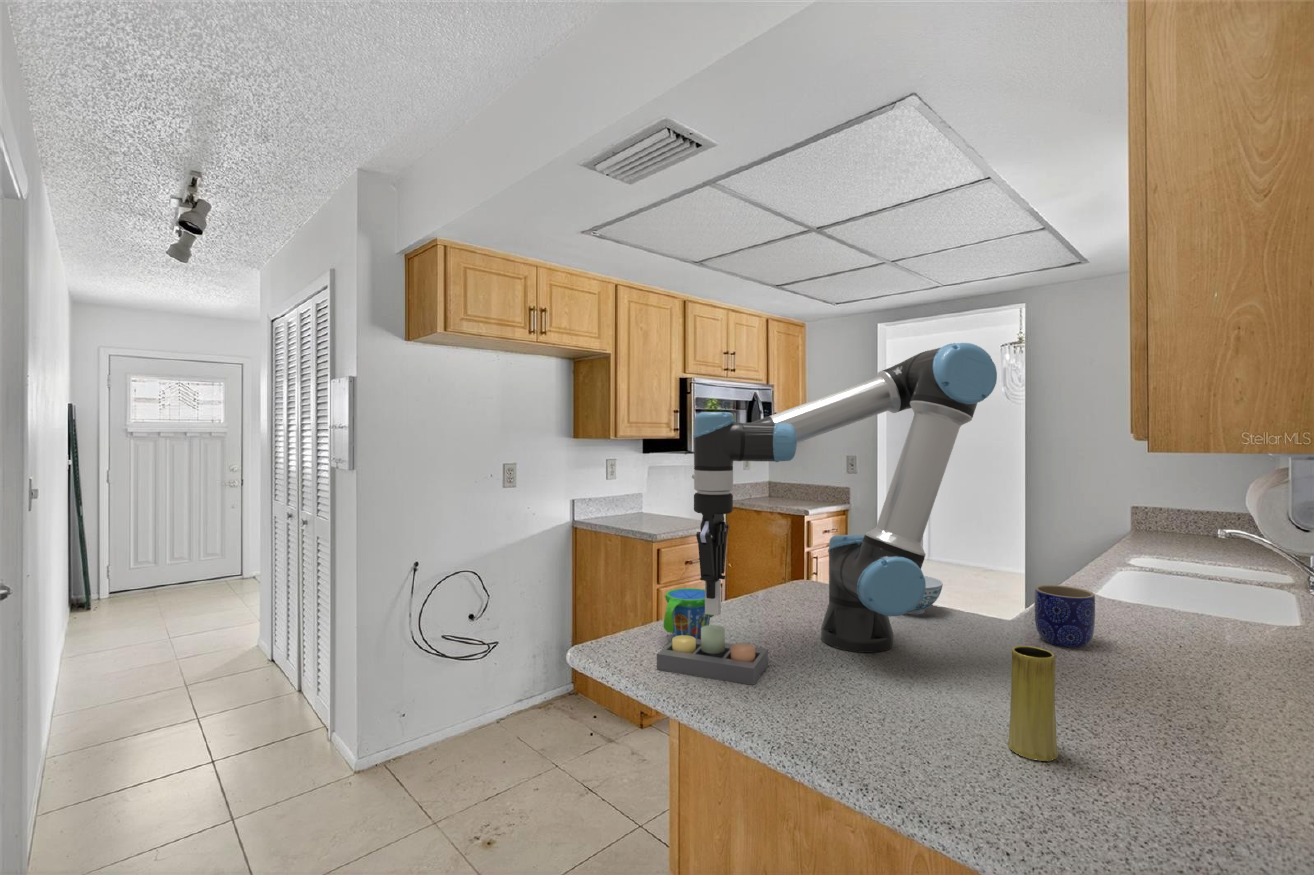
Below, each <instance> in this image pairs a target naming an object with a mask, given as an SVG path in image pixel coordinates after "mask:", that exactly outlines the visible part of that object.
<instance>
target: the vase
mask: <svg viewBox="0 0 1314 875" xmlns="http://www.w3.org/2000/svg"><path fill="white" fill-rule="evenodd" d="M1010 674H1011V677H1010V678H1011V681H1010V682H1011V683H1010V707H1009V708H1010V710H1009V711H1010V713H1009V724H1008V725H1009V729H1008V740H1007V746H1008V748H1009V750H1013V751H1014V752H1015V753H1016V755H1017V754H1020V755H1022V756H1024V757H1027V758H1030V759H1037V760H1043V761H1047V760H1048V762H1051V761H1050V760H1052V759H1055V760H1056V759H1058V757H1059V753H1058V742H1057V738H1058V736H1057V721H1056V719H1057V718H1056V696H1055V695H1056V694H1055V691H1056V683H1055V682H1056V658H1055V654H1054V653H1053V652H1052V651H1050V650H1048V649H1045V648H1042V647H1038V646H1031V645H1017V646H1013V647H1012V648H1011V673H1010ZM1013 751H1012V752H1013ZM1014 752H1013V753H1014ZM1015 753H1014V754H1015ZM1024 757H1023V758H1024ZM1027 758H1026V759H1027ZM1030 759H1029V760H1030Z"/></svg>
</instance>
